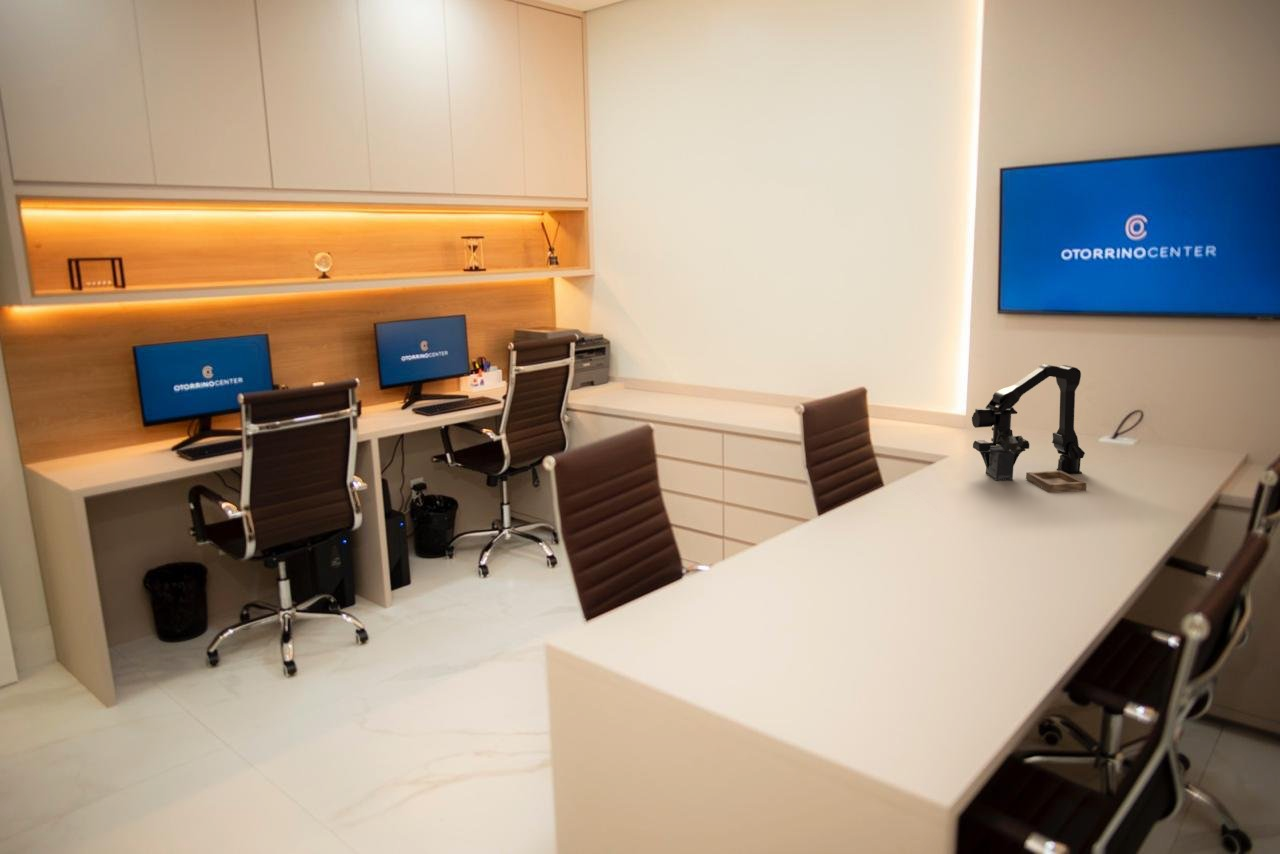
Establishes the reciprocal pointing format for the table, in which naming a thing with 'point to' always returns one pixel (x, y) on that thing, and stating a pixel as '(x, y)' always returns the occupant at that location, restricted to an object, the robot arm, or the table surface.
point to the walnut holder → (1056, 481)
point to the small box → (1000, 464)
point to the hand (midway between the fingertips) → (999, 467)
